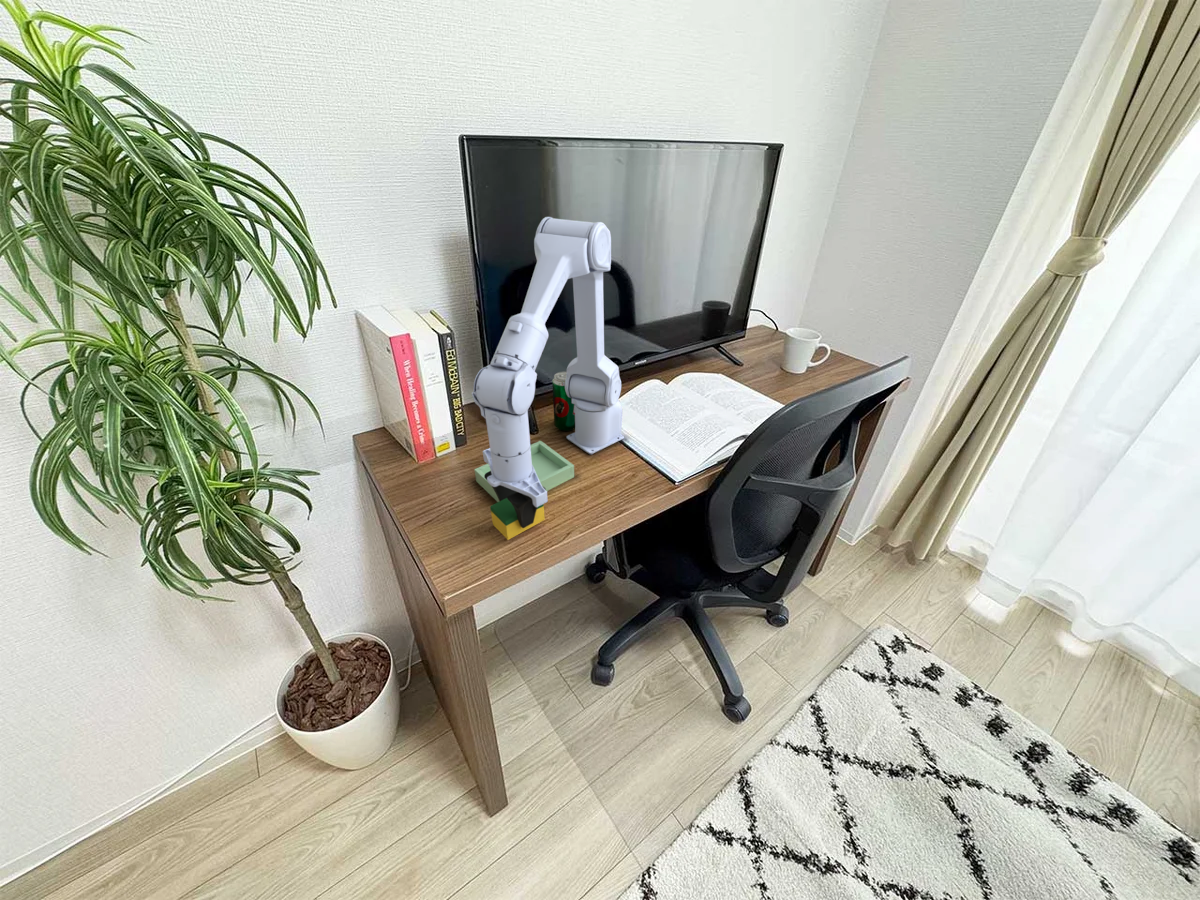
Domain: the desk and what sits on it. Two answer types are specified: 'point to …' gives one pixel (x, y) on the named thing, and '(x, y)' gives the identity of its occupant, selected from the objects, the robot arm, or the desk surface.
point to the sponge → (511, 518)
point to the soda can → (562, 404)
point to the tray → (537, 468)
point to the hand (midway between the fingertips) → (518, 515)
